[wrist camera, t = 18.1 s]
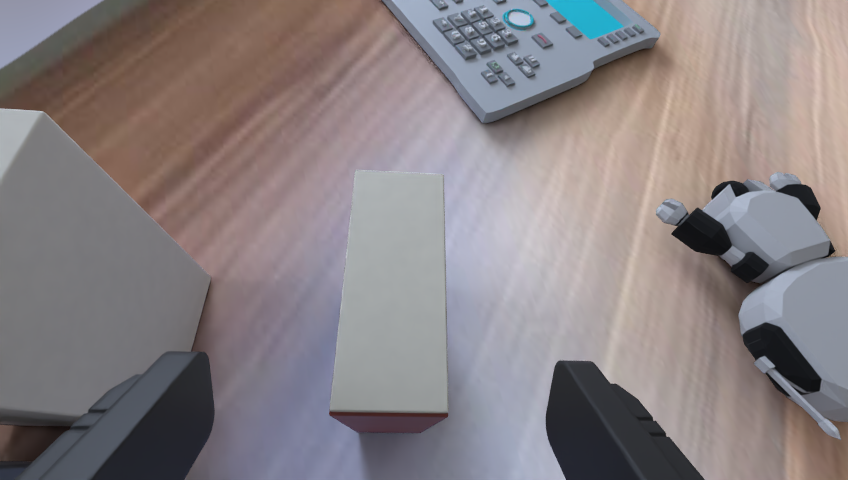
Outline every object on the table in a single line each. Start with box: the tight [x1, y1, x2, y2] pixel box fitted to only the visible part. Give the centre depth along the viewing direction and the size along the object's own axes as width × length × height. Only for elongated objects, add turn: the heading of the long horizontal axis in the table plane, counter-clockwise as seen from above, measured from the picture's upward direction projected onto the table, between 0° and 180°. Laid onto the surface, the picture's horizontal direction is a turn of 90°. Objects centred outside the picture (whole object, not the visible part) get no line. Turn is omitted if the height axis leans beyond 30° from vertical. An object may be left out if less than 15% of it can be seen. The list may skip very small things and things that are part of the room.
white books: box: [0, 109, 211, 426], centre depth 15 cm, size 7×8×14 cm
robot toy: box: [656, 172, 848, 440], centre depth 24 cm, size 12×4×15 cm
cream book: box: [329, 170, 448, 433], centre depth 17 cm, size 3×8×11 cm, turn 0°
